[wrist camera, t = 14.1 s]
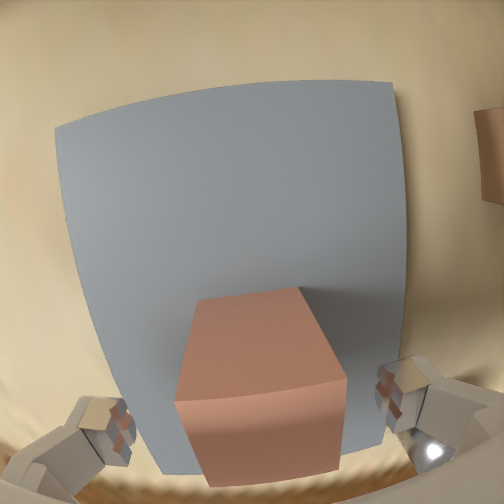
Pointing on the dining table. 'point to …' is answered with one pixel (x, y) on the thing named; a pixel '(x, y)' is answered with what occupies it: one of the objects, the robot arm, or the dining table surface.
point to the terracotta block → (261, 390)
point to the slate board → (239, 231)
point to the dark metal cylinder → (424, 449)
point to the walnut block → (491, 153)
